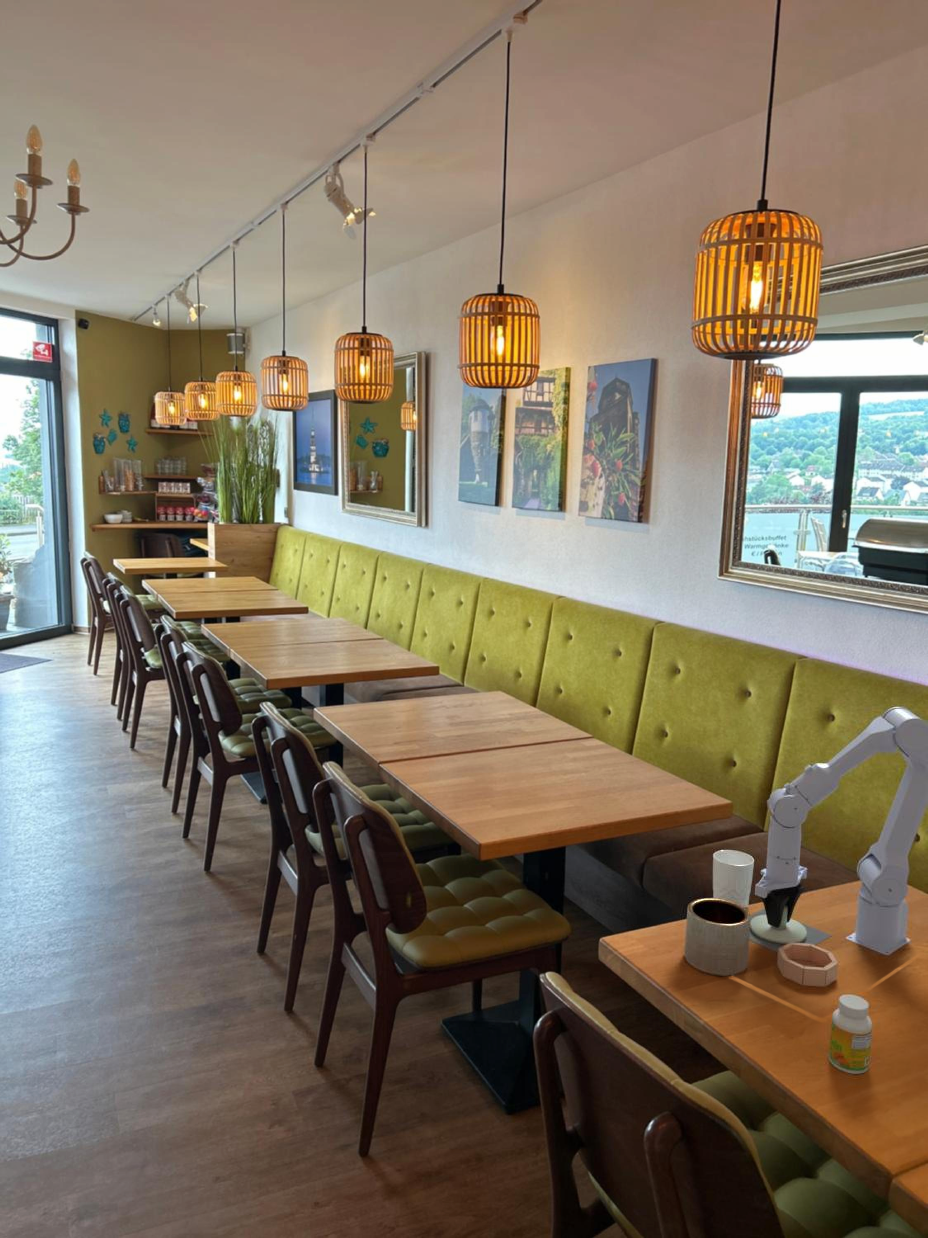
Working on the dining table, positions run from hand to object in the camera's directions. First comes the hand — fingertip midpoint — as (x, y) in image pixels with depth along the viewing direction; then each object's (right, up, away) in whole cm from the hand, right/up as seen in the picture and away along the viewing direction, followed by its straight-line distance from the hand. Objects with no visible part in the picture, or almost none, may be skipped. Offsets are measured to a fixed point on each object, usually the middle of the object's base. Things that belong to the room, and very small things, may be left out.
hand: (778, 923), depth 170 cm
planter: (-15, -4, -10) cm, 18 cm away
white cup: (-5, -1, +13) cm, 14 cm away
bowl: (0, -4, -14) cm, 14 cm away
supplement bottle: (-3, -8, -38) cm, 39 cm away
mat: (0, -2, 0) cm, 2 cm away
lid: (0, -2, 0) cm, 2 cm away
